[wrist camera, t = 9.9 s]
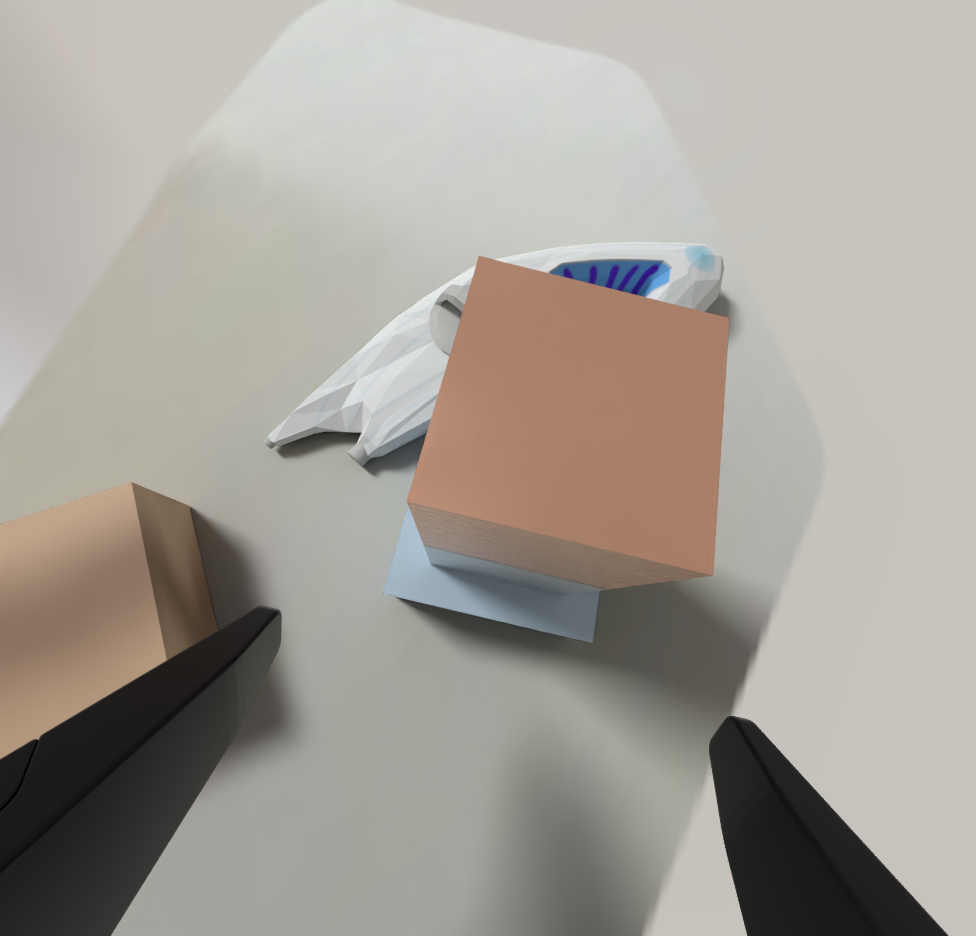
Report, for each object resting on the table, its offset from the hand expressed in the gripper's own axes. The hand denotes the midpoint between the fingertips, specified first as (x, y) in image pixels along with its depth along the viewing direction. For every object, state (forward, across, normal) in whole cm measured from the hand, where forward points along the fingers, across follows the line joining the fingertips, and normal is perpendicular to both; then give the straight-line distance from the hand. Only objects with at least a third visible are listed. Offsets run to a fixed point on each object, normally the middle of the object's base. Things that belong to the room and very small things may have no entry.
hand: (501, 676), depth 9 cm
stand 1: (+5, +13, +8) cm, 16 cm away
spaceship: (+16, +1, -2) cm, 16 cm away
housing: (+7, 0, +1) cm, 7 cm away
